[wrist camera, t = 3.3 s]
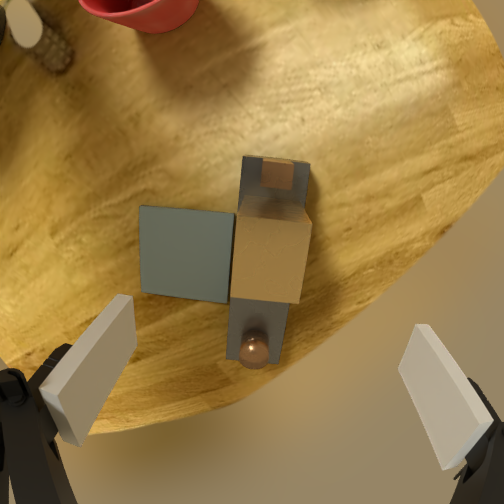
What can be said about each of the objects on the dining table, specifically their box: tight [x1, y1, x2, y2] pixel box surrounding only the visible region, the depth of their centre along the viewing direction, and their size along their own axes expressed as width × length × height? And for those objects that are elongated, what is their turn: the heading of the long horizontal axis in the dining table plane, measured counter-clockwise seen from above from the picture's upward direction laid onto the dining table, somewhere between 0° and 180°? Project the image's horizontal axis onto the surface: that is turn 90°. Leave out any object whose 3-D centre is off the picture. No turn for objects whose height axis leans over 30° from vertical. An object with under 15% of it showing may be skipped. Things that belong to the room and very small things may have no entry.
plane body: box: [226, 155, 310, 369], centre depth 30 cm, size 22×6×7 cm, turn 174°
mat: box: [139, 205, 234, 303], centre depth 33 cm, size 10×10×1 cm
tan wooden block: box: [230, 195, 312, 304], centre depth 25 cm, size 6×5×8 cm
